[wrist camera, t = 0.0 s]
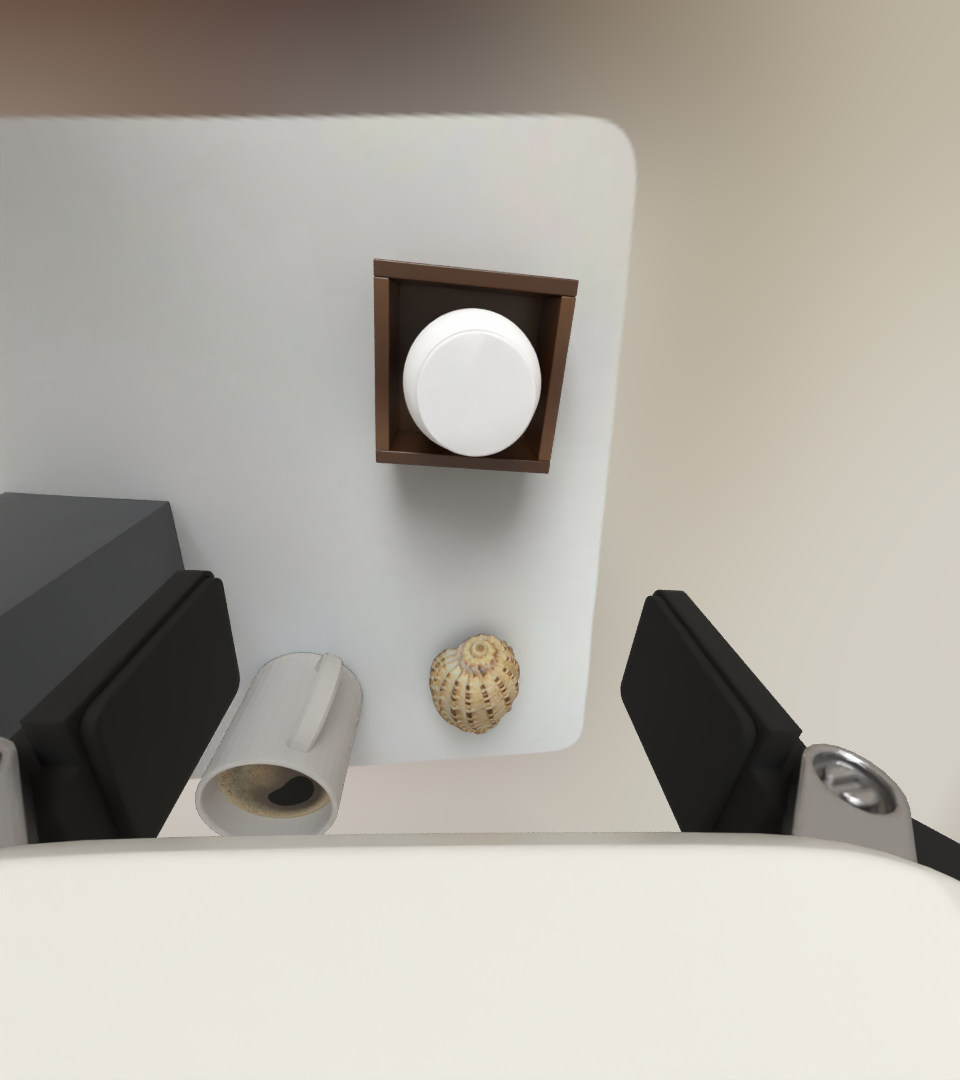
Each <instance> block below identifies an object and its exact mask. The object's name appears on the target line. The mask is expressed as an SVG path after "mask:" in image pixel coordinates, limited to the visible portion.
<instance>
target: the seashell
mask: <svg viewBox="0 0 960 1080" xmlns="http://www.w3.org/2000/svg"><path fill="white" fill-rule="evenodd" d="M519 673H520V670H519V665H518V662H517V661H516V660H515V659H514V653H513V650H512V648H511V647H509V646H507V643H506V642H505V641H501V640H499V639H497V638H496V637H494V635H483V634H479V635H477V636H473V637H469V638H468V639H467V640H466V641H465V642H463V643H461V644H460V645H459V647H458V648H457V649H452V650H451V649H446V650H444V651H443V652H442V653H440V654H439V655H438V656H437V657H436V658H435V659H434V661H433V663H432V666H431V672H430V690H431V693H432V697H433V702H434V704H435V707H436V709H437V711H438V712H439V713H440V715H441V716H442V717H443V718H444V719H445V720H446V721H447V722H449V723H450V724H451V725H454V726H456V727H458V728H460V729H461V730H463V731H465V732H474V733H476V734H482V733H485V732H486V731H487V730H488V729H491V728H494V726H495V725H497V724H498V722H499V720H500V718H501V717H502V716H503V715H504V714H505V713H507V712H509V711H510V710H511V705H512V703H513V701H514V699H515V698H516V696H517V694H518V691H519V685H518V679H519Z"/></svg>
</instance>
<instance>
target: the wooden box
mask: <svg viewBox="0 0 960 1080" xmlns="http://www.w3.org/2000/svg"><path fill="white" fill-rule="evenodd" d="M374 276H375V277H374V340H375V424H376V462H377V463H391V464H407V465H422V466H437V467H453V468H468V469H483V470H499V471H514V472H529V473H545V474H548V472H549V466H550V459H551V453H552V447H553V440H554V434H555V428H556V421H557V415H558V409H559V402H560V396H561V390H562V383H563V377H564V371H565V364H566V358H567V352H568V345H569V339H570V333H571V326H572V320H573V314H574V307H575V301H576V298H575V297H576V295H577V289H578V280H573V279H564V278H554V277H545V276H536V275H526V274H517V273H507V272H498V271H488V270H479V269H470V268H460V267H451V266H441V265H432V264H423V263H413V262H404V261H394V260H385V259H374ZM467 308H478V309H485V310H489V311H492V312H495V313H497V314H500V315H502V316H503V317H505V318H507V319H508V320H510V321H511V322H513V323H514V324H515V325H516V326H517V327H518V328H519V329H520V330H521V331H522V332H523V333H524V334H525V336H526V337H527V338H528V340H529V341H530V343H531V345H532V347H533V348H534V351H535V353H536V356H537V359H538V362H539V367H540V373H541V392H540V398H539V402H538V405H537V408H536V410H535V413H534V415H533V417H532V419H531V421H530V423H529V425H528V427H527V428H526V430H525V431H524V433H523V434H522V435H521V436H520V437H519V438H518V439H517V440H516V441H515V442H514V443H513V444H511V445H510V446H509V447H507V448H506V449H504V450H502V451H500V452H497V453H495V454H491V455H487V456H476V457H472V456H465V455H461V454H457V453H454V452H452V451H450V450H448V449H446V448H444V447H442V446H440V445H438V444H436V443H435V442H433V441H432V440H430V439H429V438H428V437H427V436H426V435H425V434H424V433H423V432H422V431H421V430H420V429H419V427H418V426H417V425H416V423H415V422H414V420H413V418H412V416H411V414H410V412H409V410H408V407H407V404H406V401H405V396H404V390H403V372H404V366H405V362H406V359H407V355H408V353H409V351H410V348H411V346H412V344H413V343H414V341H415V339H416V338H417V337H418V335H419V334H420V333H421V331H422V330H423V329H424V328H425V327H426V326H428V325H429V324H430V323H431V322H433V321H434V320H435V319H437V318H438V317H440V316H442V315H444V314H446V313H449V312H452V311H455V310H459V309H467Z"/></svg>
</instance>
